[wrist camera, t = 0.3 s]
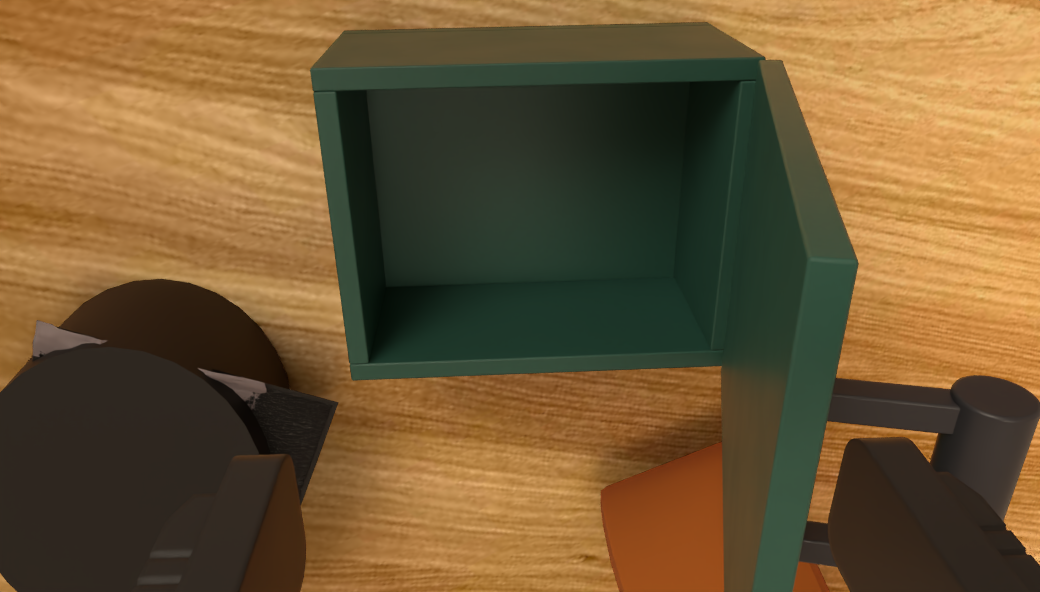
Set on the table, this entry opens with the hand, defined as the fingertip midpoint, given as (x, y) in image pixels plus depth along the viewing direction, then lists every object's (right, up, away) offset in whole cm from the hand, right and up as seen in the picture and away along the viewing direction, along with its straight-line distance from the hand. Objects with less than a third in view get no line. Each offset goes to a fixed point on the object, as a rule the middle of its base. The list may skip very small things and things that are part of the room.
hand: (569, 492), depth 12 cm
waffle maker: (-19, -4, +31) cm, 37 cm away
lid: (+6, +2, +11) cm, 13 cm away
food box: (0, +9, +25) cm, 27 cm away
